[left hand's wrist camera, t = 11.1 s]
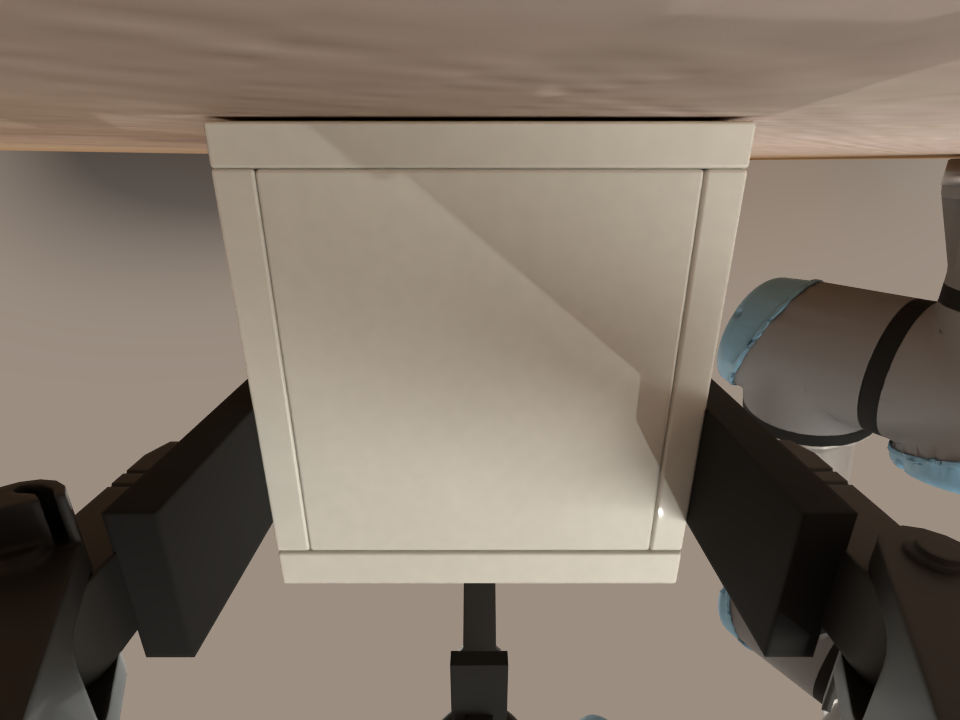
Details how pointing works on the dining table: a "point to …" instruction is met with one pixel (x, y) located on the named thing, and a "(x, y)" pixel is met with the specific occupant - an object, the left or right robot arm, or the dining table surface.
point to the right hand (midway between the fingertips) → (479, 555)
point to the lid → (479, 566)
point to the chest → (479, 324)
